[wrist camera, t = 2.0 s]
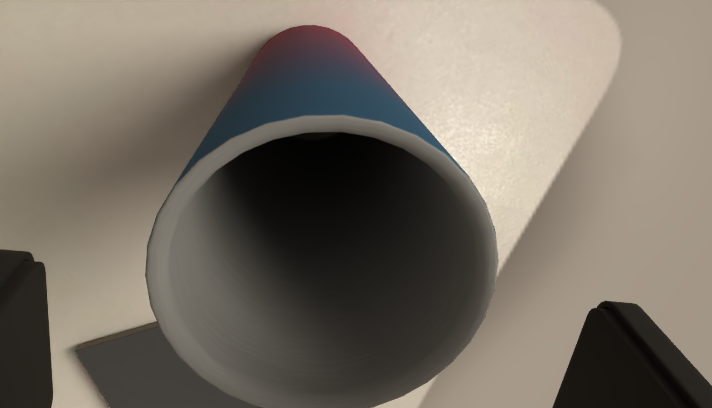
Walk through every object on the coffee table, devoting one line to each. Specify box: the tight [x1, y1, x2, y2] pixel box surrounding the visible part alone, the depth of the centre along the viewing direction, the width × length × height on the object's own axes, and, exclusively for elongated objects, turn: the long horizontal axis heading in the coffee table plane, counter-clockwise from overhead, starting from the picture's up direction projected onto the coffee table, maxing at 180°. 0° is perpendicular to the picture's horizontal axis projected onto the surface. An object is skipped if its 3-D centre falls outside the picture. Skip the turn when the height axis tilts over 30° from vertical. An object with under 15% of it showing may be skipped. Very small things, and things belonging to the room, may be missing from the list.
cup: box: [145, 25, 498, 408], centre depth 18 cm, size 7×7×15 cm
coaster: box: [75, 322, 263, 408], centre depth 31 cm, size 10×10×1 cm
